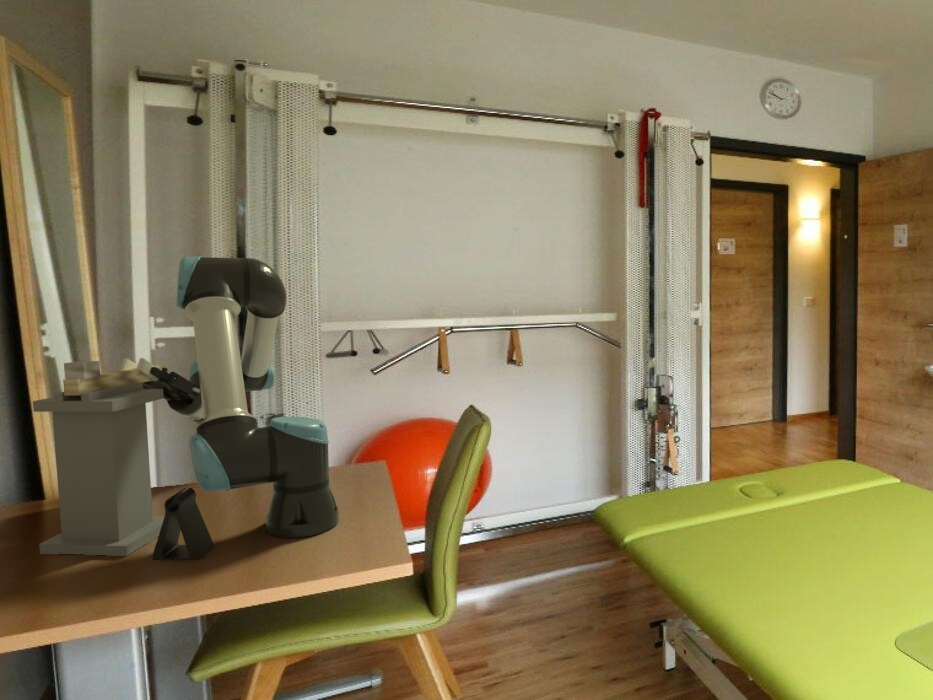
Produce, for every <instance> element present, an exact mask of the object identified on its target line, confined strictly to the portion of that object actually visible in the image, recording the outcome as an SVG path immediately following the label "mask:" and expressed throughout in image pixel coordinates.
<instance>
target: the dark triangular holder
mask: <svg viewBox="0 0 933 700" xmlns="http://www.w3.org/2000/svg"><path fill="white" fill-rule="evenodd" d="M196 497H197V493H196V491H195V489H193V488H192V487H189V488H186V487H184V488H182V489H181V490H179V491H178V492H176V493H175V494H173V495H171V496H170V497H169V498H167V499H166V500H165V501H164V505H163V507H164V511H165V513H164V516H165V517H164V520H163V523H162V527H161V530H160V533H159V536H158V537H157V538H156V543H155V547H154V550H153V553H152V556H151V560H152V561H153V560H161V561H198V560H200V559H201V558H202V557H203V556H204V555H205V554H206V553H207V552H208V551H210V549H212V547H214V541H213V539H212V536H211V534H210V532H209V530H208V527H207V525H206V523H205V522H206V521H205V520H204V519H203V518H204V517H203V516H202V514H201V511H200V509H199V506H198V504H197V501H196V499H197V498H196ZM181 535H182V537H183V541H184V544H179V539H180V536H181ZM175 559H176V560H175Z"/></svg>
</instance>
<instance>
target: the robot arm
mask: <svg viewBox="0 0 933 700" xmlns="http://www.w3.org/2000/svg"><path fill="white" fill-rule="evenodd" d="M284 285H285V284H284V283H283V280H282V278H281V277H280V276H279V274H278V273H277V272H276V271H275V270H274V269H273V268H272V267H271V266H270V265H268V264H267V263H265V262H264V261H262V260H259V259H256V258H252V257H211V256H210V257H209V256H208V257H205V256H202V255H199V256H185V257H183V258H181V259H180V261H179V264H178V276H177V289H176V290H177V291H176V307H177V308H178V309H181V310H184V315H185V317H186V318H187V319H189V320H190V321H192V322H193V333H194V342H195V343H194V344H195V352H196V361H194V362H192V363H191V364H190V365H189V369H188V374H189V380H188V379H186V378H185V377H183V376H182V375H180V374H178V373H177V372H175V371H170V372H168V368H167V367H166V368H162V371H161V370H160V369H159V368H157V367H156V366H154V365H155V364H153V363H151V362H149V361H148V360H147V359H145V358H144V357H139V361H138V364H137V363H135V362H134V361H132V360H131V359H129V358H127V357H125V358H123V360H122V364H121V367H120V369H119V371H120V370H126V369H133V368H137V370H138V371H140V372H141V373H143V374H144V375H146V376H148V377H149V378H151V379H152V380H153V381H148V382H143V389H163V397H164V398H163V399H164V400H166V402H167V404H168V407H169V409H171V410H173V411H175V412H176V413H179V414H180V415H182V416H184V417H185V418H187V419H188V420H189V421H190V422H193V423H195V424H196V425H197V426H196V429H195V430H196V434H193V435H191V436H190V437H189V440H188V442H189V449H190V454H191V455H190V456H191V462H192V465H193V466H192V467H193V471H194V475H195V478H196V481H197V483H198V485H199V487H200V489H201V490H202V491H204V492H205V493H218V492H224V491H225V492H229V491H231V490H236V489H237V490H238V489H242V488H247V487H253V486H254V487H255V486H257V485H258V486H259V485H265V484H266V485H267V484H271V483H273V484H272V485H273V487H272V488H273V491H272V492H273V493H272V497H271V500H270V504H269V508H268V511H267V515H266V518H265V523H266V524H265V527H266V531H267V533H269V534H271V536H272V535H273V536H275V537H280V538H291V539H292V538H304V537H311V536H314V535H319V534H321V533H324V532H327V531H329V530H331V529H332V528H334V527H335V526H337V524H338V523H339V521H340V520H339V519H340V516H339V514H340V512H339V507H338V505H337V503H336V499H335V498H334V497H335V496H334V495H333V491H332V489H331V487H330V468H329V467H330V461H329V443H330V440H329V438H328V437H329V436H328V435H329V434H328V428H327V425H326V424H325V423H324V422H323V421H321V420H320V419H317V418H312V417H307V416H306V417H305V416H279V417H274V418H271V419H270V422H269V426H264V427H259V426H258V421H257V417H256V416H254V415H252V414H251V413H249V410H248V403H247V402H248V401H247V397H246V396H247V395H246V392H254V391H255V392H256V391H257V392H261V391H265V390H266V391H267V390H271V389H272V388H273V387H274V385H275V370H274V367H273V364H270V361H271V357H272V352H273V347H274V343H275V339H276V333H277V327H278V323H279V318H280V317H281V316H282V315H283V314H284V313H285V310H286V307H287V306H286V305H287V292H286V287H285V286H284ZM242 308H245V309H246V310H247V316H246V317H247V318H246V324H245V329H244V335H243V336H244V337H243V338H244V339H243V343H242V351H240V344H239V338H238V332H237V331H238V330H237V323H236V318H237V317H238V316H239V315H240V313H241V312H242V311H241V310H242Z"/></svg>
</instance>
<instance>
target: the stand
mask: <svg viewBox="0 0 933 700" xmlns="http://www.w3.org/2000/svg"><path fill="white" fill-rule="evenodd" d="M53 395H54V396H51V397H47V398H42V399H37V400H33V401H32V409H33V412H35V413H36V412H37V413H38V412H43V413H45V412H47V413H48V412H49V413H52V422H53V423H52V424H53V425H52V426H53V438H54V440H53V441H54V449H55V450H54V451H55V453H54V454H55V463H56V465H55V467H56V477H57V479H56V480H57V489H58V490H57V491H58V502H59V503H58V504H59V505H58V506H59V516H60V517H59V518H60V530H61V533H60V532H59V533H58V534H56V535H54V536H52V537H51V538H49V539H47V540H44V541H42V542H41V543H40V542H39V544H38V546H39V547H38V548H39V555H58V554H77V555H76V556H79V555H78V554H84V555H83V556H96V555H106V556H107V557H129V556H130V555H132V554H133V553H135V552H136V551H138V550H139V549H141V548H143V547H144V546H145V545H144V544H146V543H147V544H148V542H149V543H151V542H152V541H153V540H155V539H156V538H158V537H157V536H158V535H159V533H160V530H161V527H162V523H163V520H164V517H165V515H153V501H152V487H151V486H152V484H151V483H152V482H151V470H150V453H149V438H148V437H149V436H148V434H149V433H148V423H147V422H148V419H147V407H146V405H147V404H148V403H151V402H155V401H158V400H159V401H160V400H163V399H164V397H163V389H143V382H134V383H129V384H125V385H120V386H115V387H110V388H105V389H100V390H95V391H90V392H85V393H81V395H64V391H59V392H55V393H53ZM155 537H156V538H155ZM154 538H155V539H154ZM152 539H153V540H152ZM151 540H152V541H151ZM147 544H146V545H147ZM143 545H144V546H143ZM142 546H143V547H142ZM140 547H141V548H140ZM138 548H139V549H138ZM137 549H138V550H137ZM135 550H136V551H135ZM134 551H135V552H134ZM132 552H133V553H132ZM131 553H132V554H131ZM129 554H130V555H129ZM128 555H129V556H128ZM106 556H105V557H106Z"/></svg>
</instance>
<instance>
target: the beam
mask: <svg viewBox="0 0 933 700" xmlns="http://www.w3.org/2000/svg"><path fill="white" fill-rule="evenodd" d="M100 364H101V363H100V360H96V361H95V360H89V361H88V360H87V361H85V360H81V361H71V362H63V369H64V370H63V372H64V379H62V382H63V392H64V395H81V393H85V392H90V391H95V390H100V389H105V388H110V387H115V386H120V385H125V384H129V383H134V382H148V381H153V380H152V379H151V378H149V377H148V376H146V375H144V374H143V373H141V372H140V371H138V370H137V368H133V369H126V370H120V369H119V370H115V371H110V372H109V371H108V372H103V373H101V365H100ZM153 365H154V366H156V367H157V368H159V369H160V370H161V371H162V368H167V367H166V364H153Z"/></svg>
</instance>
